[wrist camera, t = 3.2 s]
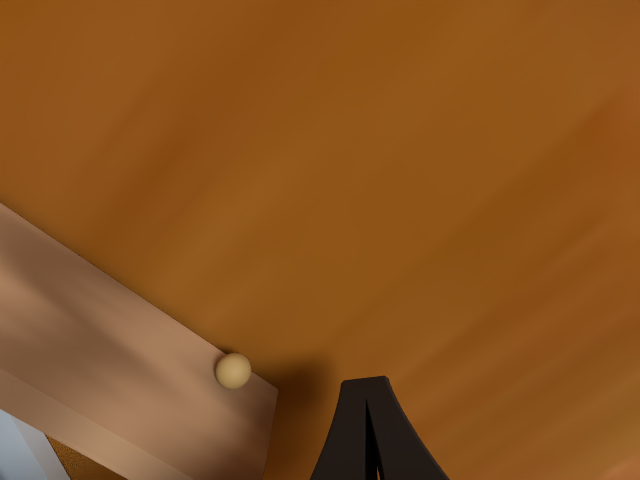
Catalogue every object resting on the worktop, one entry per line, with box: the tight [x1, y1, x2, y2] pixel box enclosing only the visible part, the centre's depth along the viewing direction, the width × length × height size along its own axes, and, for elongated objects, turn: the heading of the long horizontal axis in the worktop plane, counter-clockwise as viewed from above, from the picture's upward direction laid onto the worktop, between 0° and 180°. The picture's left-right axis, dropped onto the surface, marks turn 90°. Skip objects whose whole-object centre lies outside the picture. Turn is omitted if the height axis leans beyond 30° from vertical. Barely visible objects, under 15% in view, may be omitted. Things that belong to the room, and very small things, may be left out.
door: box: [0, 203, 279, 480], centre depth 11 cm, size 15×2×5 cm, turn 50°
